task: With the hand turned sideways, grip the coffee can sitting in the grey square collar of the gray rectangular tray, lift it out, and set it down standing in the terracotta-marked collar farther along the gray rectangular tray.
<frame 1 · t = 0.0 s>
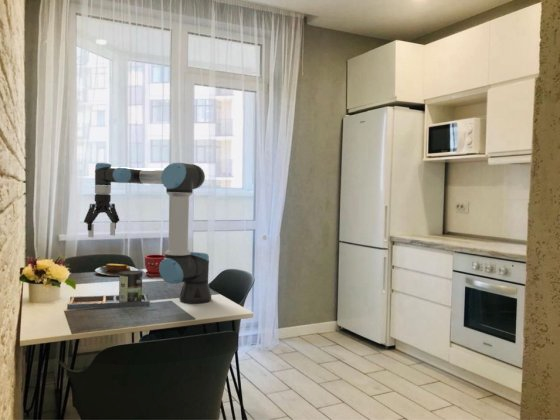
hand: (101, 236, 238), 28 cm above the table, tool pointing down, fingers open, 13 cm apart
gray rectangular tray: (109, 303, 216), on the table
food on plate: (116, 274, 291), on the table
plant pot: (155, 275, 288), on the table
coffee can: (130, 302, 219), resting in gray rectangular tray
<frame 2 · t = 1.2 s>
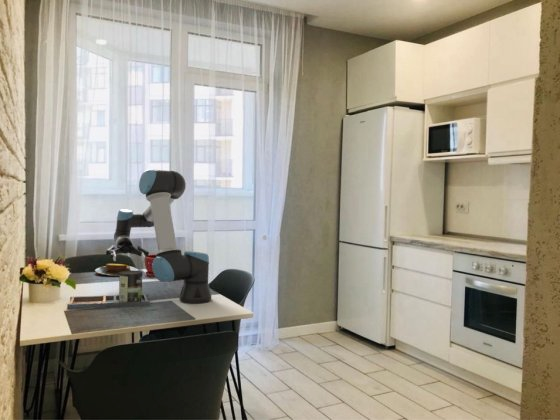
hand: (129, 259, 227), 19 cm above the table, tool horizontal, fingers open, 13 cm apart
nothing on the table moved.
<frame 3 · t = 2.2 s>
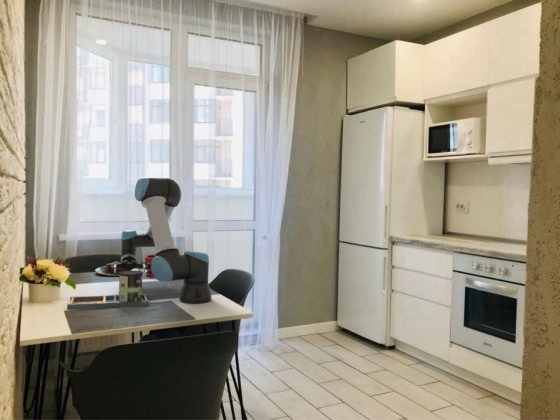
hand: (129, 269, 228), 14 cm above the table, tool horizontal, fingers open, 13 cm apart
nothing on the table moved.
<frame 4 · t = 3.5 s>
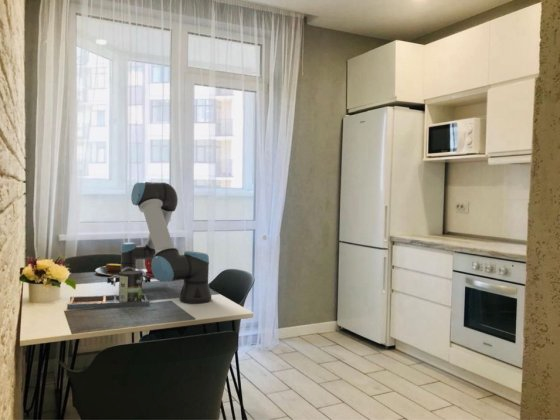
hand: (129, 282, 225), 8 cm above the table, tool horizontal, fingers open, 13 cm apart
nothing on the table moved.
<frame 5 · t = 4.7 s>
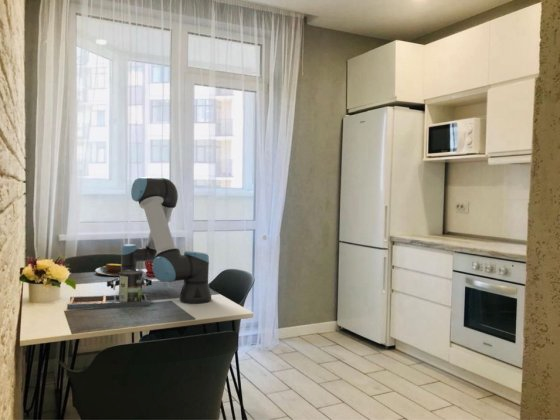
hand: (130, 286, 217), 8 cm above the table, tool horizontal, fingers open, 13 cm apart
nothing on the table moved.
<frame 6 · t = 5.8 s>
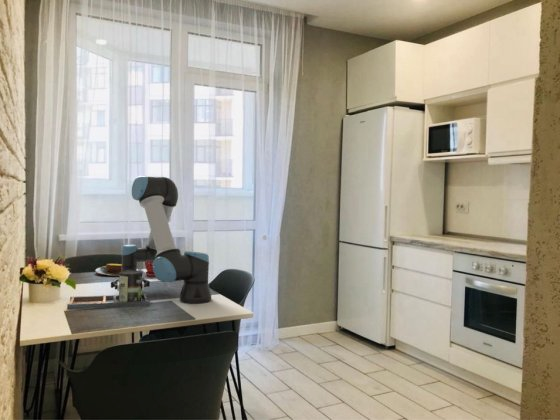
hand: (130, 287, 214), 8 cm above the table, tool horizontal, fingers closed on coffee can, 10 cm apart
coffee can: (130, 302, 219), resting in gray rectangular tray, touching gripper
everything else where it was.
when the fingers open (9 cm above the table, at t = 11.0 s): coffee can drops 1 cm, resting on gray rectangular tray.
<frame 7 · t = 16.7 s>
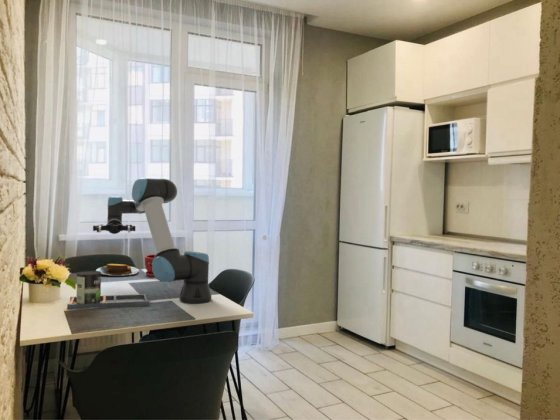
hand: (114, 229, 232), 32 cm above the table, tool horizontal, fingers open, 13 cm apart
coffee can: (88, 304, 213), resting on gray rectangular tray
everything else where it was.
at the end: coffee can 0.1 cm from the target spot on the gray rectangular tray, point 0.0 cm above the gray rectangular tray's base; coffee can tilted 0°; the gripper is holding nothing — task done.
